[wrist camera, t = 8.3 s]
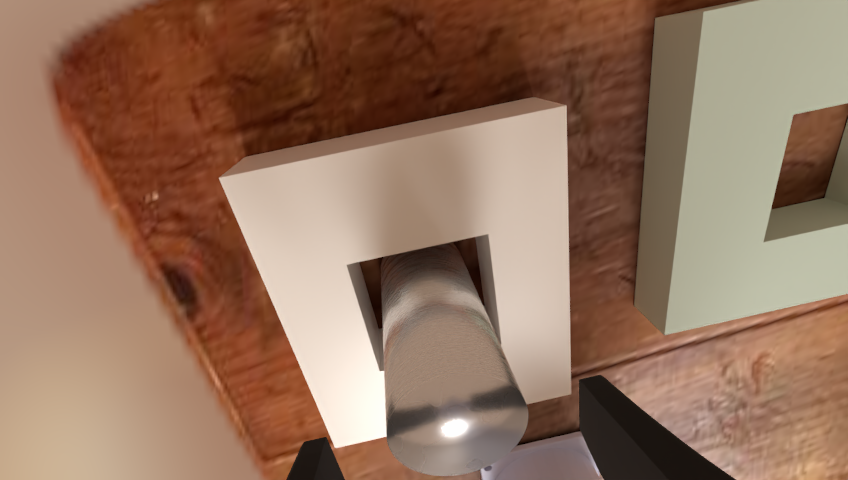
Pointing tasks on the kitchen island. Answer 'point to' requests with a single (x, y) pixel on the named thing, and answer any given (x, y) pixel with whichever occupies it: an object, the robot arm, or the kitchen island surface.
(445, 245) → the steel peg
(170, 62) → the kitchen island surface
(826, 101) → the socket block
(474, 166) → the cream square-hole board
